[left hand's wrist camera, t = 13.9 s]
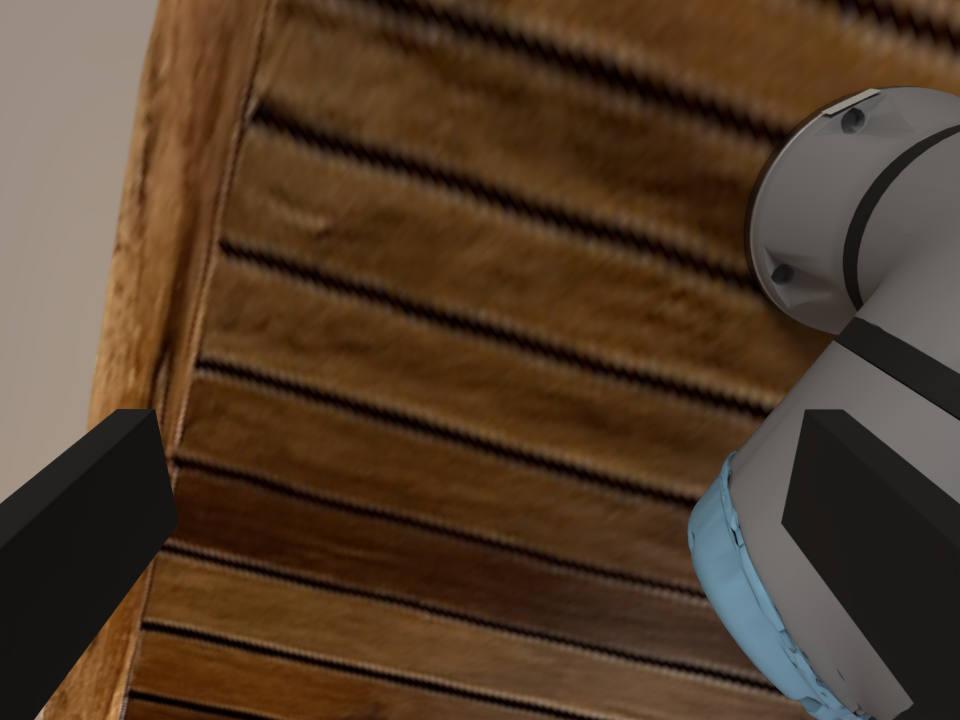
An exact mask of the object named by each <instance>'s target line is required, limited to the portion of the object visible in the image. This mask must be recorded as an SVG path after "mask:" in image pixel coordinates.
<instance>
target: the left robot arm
mask: <svg viewBox="0 0 960 720" xmlns="http://www.w3.org/2000/svg"><path fill="white" fill-rule="evenodd" d="M744 244H745V252H746V257H747V261H748V265H749V267H750V270H751V273H752V275H753V277H754V279H755V281H756V283H757V285H758V286H759V288H760V289H761V291H762V292H763V294H764V295H765V296H766V297H767V298H768V299H769V300H770V301H771V302H772V303H773V304H774V305H775V306H776V307H777V308H779V309H780V310H781V311H783V312H784V313H785V314H787V315H789V316H790V317H792V318H793V319H795V320H797V321H798V322H800V323H802V324H804V325H807V326H809V327H811V328H814V329H817V330H821V331H824V332H827V333H831V334H836V335H838V336H837V337H836V338H835V339H834V340H835V341H836V342H835V341H834V340H833V341H832V342H831V343H830V344H829V346H828V347H827V348H826V349H825V350H824V351H823V353H822V354H821V355H820V356H819V357H818V358H817V360H816V361H815V362H814V363H813V364H812V365H811V367H810V368H809V369H808V370H807V371H806V372H805V374H804V375H803V376H802V377H801V378H800V379H799V381H798V382H797V383H796V384H795V385H794V386H793V388H792V389H791V390H790V391H789V392H788V393H787V395H786V396H785V397H784V398H783V399H782V400H781V402H780V403H779V404H778V405H777V406H776V407H775V409H774V410H773V411H772V412H771V413H770V414H769V416H768V417H767V418H766V419H765V420H764V421H763V423H762V424H761V425H760V426H759V427H758V428H757V430H756V431H755V432H754V433H753V434H752V435H751V437H750V438H749V439H748V440H747V441H746V442H745V444H744V445H743V446H742V447H741V448H740V449H739V451H733V452H732V453H731V454H730V455H729V456H728V457H727V458H726V460H725V461H724V463H723V466H722V470H721V472H720V473H719V475H718V476H717V477H716V479H715V480H714V481H713V483H712V484H711V485H710V487H709V488H708V489H707V491H706V492H705V493H704V495H703V496H702V497H701V499H700V500H699V501H698V503H697V504H696V505H695V507H694V509H693V511H692V513H691V515H690V519H689V523H688V530H687V532H688V545H689V549H690V551H691V559H692V563H693V567H694V570H695V572H696V575H697V577H698V579H699V582H700V584H701V586H702V588H703V590H704V592H705V594H706V596H707V598H708V600H709V602H710V603H711V605H712V607H713V609H714V610H715V612H716V614H717V615H718V617H719V618H720V620H721V621H722V623H723V624H724V626H725V627H726V629H727V630H728V631H729V633H730V634H731V636H732V637H733V638H734V640H735V641H736V642H737V644H738V645H739V646H740V648H741V649H742V650H743V651H744V653H745V654H746V655H747V656H748V657H749V659H750V660H751V661H752V662H753V663H754V665H755V666H756V667H757V668H758V669H759V670H760V671H761V672H762V673H763V674H764V676H765V677H766V678H767V679H768V680H769V681H770V682H771V683H772V684H774V685H775V686H776V687H777V688H778V689H779V690H780V691H781V692H782V693H783V694H784V695H786V696H787V697H788V698H789V699H791V700H799V701H800V702H801V704H802V705H803V707H804V708H805V710H806V711H807V712H808V714H810V715H811V716H813V717H815V718H816V719H818V720H960V98H959V97H957V96H955V95H952V94H949V93H946V92H942V91H939V90H934V89H929V88H923V87H915V86H895V87H882V88H873V89H868V90H863V91H859V92H856V93H852V94H849V95H847V96H844V97H842V98H839V99H837V100H835V101H833V102H831V103H829V104H827V105H825V106H823V107H822V108H820V109H818V110H817V111H815V112H813V113H812V114H811V115H809V116H808V117H807V118H805V119H804V120H803V121H801V122H800V123H799V124H798V125H797V126H796V127H795V128H793V129H792V130H791V131H790V132H789V133H788V134H787V135H786V137H785V138H784V139H783V140H782V141H781V142H780V143H779V145H778V146H777V147H776V148H775V149H774V151H773V152H772V154H771V155H770V157H769V158H768V159H767V161H766V163H765V164H764V166H763V168H762V170H761V171H760V173H759V175H758V177H757V180H756V182H755V184H754V186H753V189H752V192H751V195H750V198H749V202H748V205H747V210H746V216H745V225H744ZM843 346H844V347H843ZM846 348H847V349H846ZM848 349H849V350H848ZM850 350H851V351H852V352H851V351H850ZM853 352H854V353H855V354H854V353H853ZM856 354H857V355H856ZM858 355H859V356H860V357H859V356H858ZM861 357H862V358H863V359H862V358H861ZM864 359H865V360H866V361H865V360H864ZM867 361H868V362H867ZM870 363H871V364H870ZM873 365H874V366H873ZM875 366H876V367H877V368H876V367H875ZM878 368H879V369H880V370H879V369H878ZM881 370H882V371H881ZM884 372H885V373H884ZM887 374H888V375H887ZM890 376H891V377H890ZM892 377H893V378H892ZM895 379H896V380H895ZM898 381H899V382H898ZM900 382H901V383H902V384H901V383H900ZM903 384H904V385H903ZM906 386H907V387H906ZM909 388H910V389H909ZM912 390H913V391H912ZM915 392H916V393H915ZM926 399H927V400H926ZM931 402H932V403H931ZM934 404H935V405H934ZM937 406H938V407H937ZM939 407H940V408H941V409H940V408H939ZM942 409H943V410H942ZM945 411H946V412H945ZM948 413H949V414H948ZM951 415H952V416H951ZM954 417H955V418H954ZM178 524H179V521H178V516H177V511H176V506H175V502H174V497H173V492H172V487H171V483H170V478H169V473H168V469H167V464H166V459H165V454H164V450H163V445H162V440H161V435H160V431H159V426H158V421H157V416H156V412H155V409H117V410H115V411H114V412H113V413H112V414H110V415H109V416H108V417H107V418H106V419H104V420H103V421H102V422H101V423H99V424H98V425H97V426H96V427H94V428H93V429H92V430H91V431H89V432H88V433H87V434H86V435H85V436H83V437H82V438H81V439H80V440H78V441H77V442H76V443H75V444H73V445H72V446H71V447H70V448H69V449H67V450H66V451H65V452H64V453H62V454H61V455H60V456H59V457H57V458H56V459H55V460H54V461H52V462H51V463H50V464H49V465H48V466H46V467H45V468H44V469H43V470H41V471H40V472H39V473H38V474H36V475H35V476H34V477H33V478H32V479H30V480H29V481H28V482H27V483H25V484H24V485H23V486H22V487H20V488H19V489H18V490H17V491H15V492H14V493H13V494H12V495H10V496H9V497H8V498H7V499H6V500H4V501H3V502H2V503H1V504H0V720H34V719H35V718H36V716H37V715H38V714H39V712H40V711H41V710H42V708H43V707H44V706H45V704H46V703H47V702H48V700H49V699H50V697H51V696H52V695H53V693H54V692H55V691H56V689H57V688H58V687H59V685H60V684H61V683H62V681H63V680H64V679H65V677H66V676H67V674H68V673H69V672H70V670H71V669H72V668H73V666H74V665H75V664H76V662H77V661H78V660H79V658H80V657H81V655H82V654H83V653H84V651H85V650H86V649H87V647H88V646H89V645H90V643H91V642H92V641H93V639H94V638H95V636H96V635H97V634H98V632H99V631H100V630H101V628H102V627H103V626H104V624H105V623H106V622H107V620H108V619H109V618H110V616H111V615H112V613H113V612H114V611H115V609H116V608H117V607H118V605H119V604H120V603H121V601H122V600H123V599H124V597H125V596H126V594H127V593H128V592H129V590H130V589H131V588H132V586H133V585H134V584H135V582H136V581H137V580H138V578H139V577H140V575H141V574H142V573H143V571H144V570H145V569H146V567H147V566H148V565H149V563H150V562H151V561H152V559H153V558H154V557H155V555H156V554H157V552H158V551H159V550H160V548H161V547H162V546H163V544H164V543H165V542H166V540H167V539H168V538H169V536H170V535H171V533H172V532H173V531H174V529H175V528H176V527H177V525H178Z"/></svg>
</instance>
